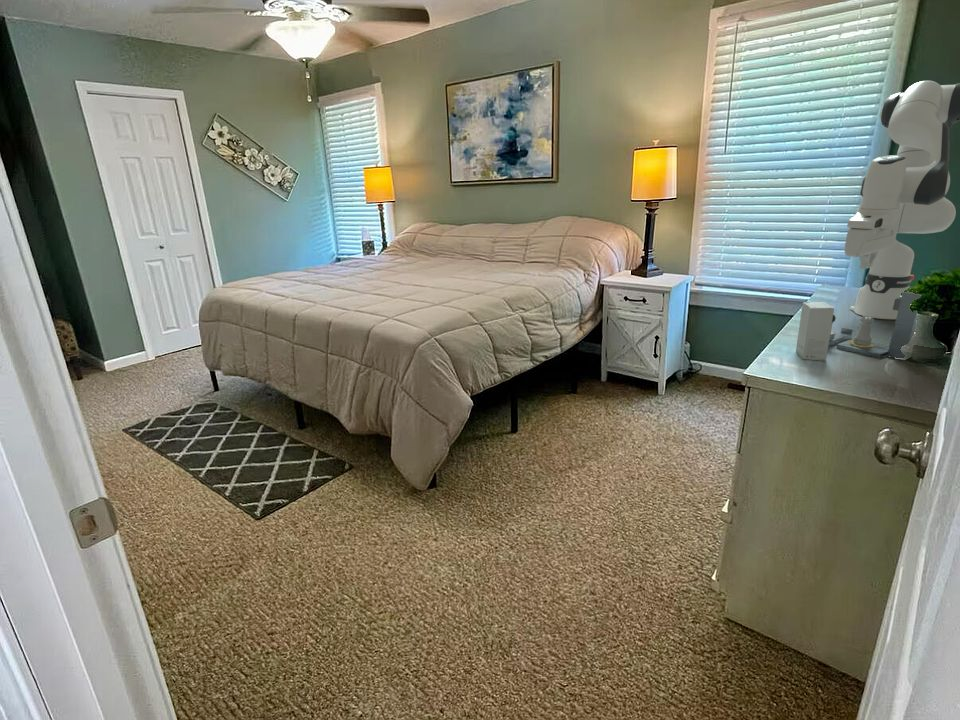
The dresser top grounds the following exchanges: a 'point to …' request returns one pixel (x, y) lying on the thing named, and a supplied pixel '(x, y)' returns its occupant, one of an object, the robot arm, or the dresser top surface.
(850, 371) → the dresser top surface
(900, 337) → the press
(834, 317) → the lever
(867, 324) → the rook chess piece
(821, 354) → the skincare box
